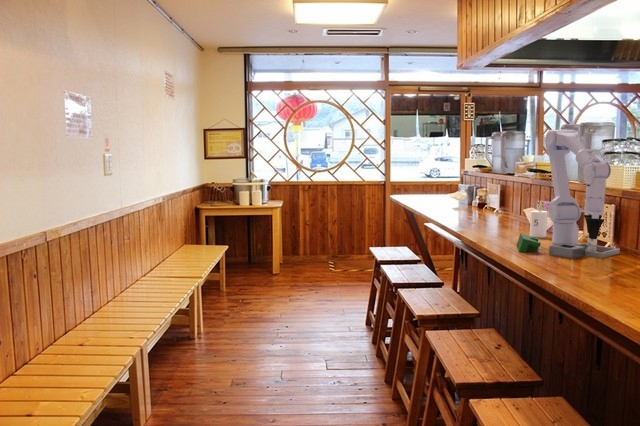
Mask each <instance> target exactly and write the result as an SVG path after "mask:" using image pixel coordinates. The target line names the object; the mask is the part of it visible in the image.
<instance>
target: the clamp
mask: <svg viewBox="0 0 640 426" xmlns="http://www.w3.org/2000/svg"><path fill="white" fill-rule="evenodd" d="M541 244H542V242H541V241H539V237H532V236H530V235H528V234H526V233H525V234H524V233H520V234H519V237H518V240H517V243H516V245H515V247H516V249H517V251H518V252H519V253H526V252H538V251H539V248H540V246H541Z"/></svg>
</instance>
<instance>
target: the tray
mask: <svg viewBox="0 0 640 426" xmlns="http://www.w3.org/2000/svg"><path fill="white" fill-rule="evenodd" d="M577 246H583V247H585V256H586V257H591V258H598V259H603V258H606V257H610V256H615V255H619V254H620V248H616V247H610V246H602V245H597V248H596V252H592V251H586V249H587V243H583V242H582V243H578V244H577ZM598 251H600V252H598Z"/></svg>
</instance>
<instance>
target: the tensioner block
mask: <svg viewBox="0 0 640 426" xmlns="http://www.w3.org/2000/svg"><path fill="white" fill-rule="evenodd" d="M548 248H549V249H548V255H549V256H556V257H559V258H566V259H572V260H573V259H577V258H582V257H585V256H586V255H585V250H586V248H585V247H583V246H577V245H573V244H572V245H571V244H565V243H561V244H551V245H549V246H548Z"/></svg>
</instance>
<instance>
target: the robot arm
mask: <svg viewBox="0 0 640 426" xmlns="http://www.w3.org/2000/svg"><path fill="white" fill-rule="evenodd" d="M544 145H545V150H546V154H548V158H549V160H548V161H549V165H550V173H551V179H552V186H553V194H554V198H553V199H552V200H550V202H549V203H548V217H549V219H550V220H551V222H552V224H553V225H552V226H553V227H552V238H551V239H552V240H551V243H552V244H554V245H556V244H561V243H565V244H571V245H577V244H579V234H580V233H579V230H580V229H579V225H578V224H577V223H578V222H577V221H579V220H580V218H581V215H582V213H584V214H583V217H584V220H585V223H586V230H587V234H588V233H589V238H590V239H597V240H598V238H597V237H599V236H598V235H599V233H600V230H601V227H602V225H603V223H604V222H605V219H604V218H603V216H602V215H603V214H605V200H606V199H605V197H606V185H607V179H609V177H610V176H611V172H612V168H611V165H610V164H609V162H607V161H603V160H602V161H601V160H600V158H598V157H597V155H596V153H595V154H594V151H593V150H592V149H590V148H589V149H588V148H585V147H584V146H583V144H582V143H581V141H580V139H579V133H578V132H577V131H576V130H575V129H565V130H563V129H548V131H547V133H546V135H545V137H544ZM570 152H572V153H573V154H574V155H575V159H574V160H575V161H576V163H577V164H578V165H579V166H580V167H581V168H582V169H583V170H582V171H583V174H582V175H583V177H584V183H585V185H586V188H585V201H584V209H581V208H580V206H579V203H578V200H577V199H576V198H574V197H572V196H571V191H570V184H569V179H568V172H567V167H566V166H567V165H566V161H565V156H566V155H567V154H570Z"/></svg>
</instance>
